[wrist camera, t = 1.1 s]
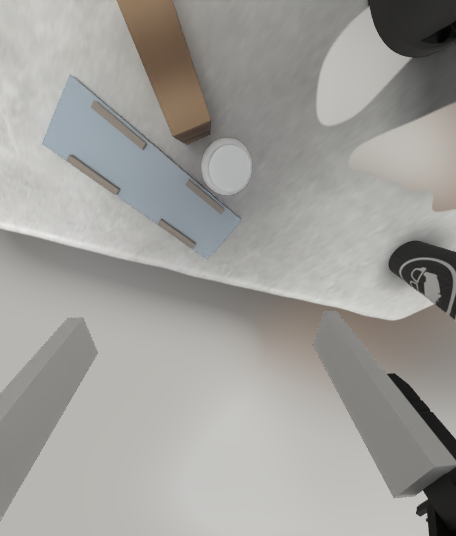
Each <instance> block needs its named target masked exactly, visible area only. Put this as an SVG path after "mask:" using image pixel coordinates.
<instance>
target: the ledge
mask: <svg viewBox="0 0 456 536" xmlns="http://www.w3.org/2000/svg"><path fill="white" fill-rule="evenodd" d="M42 144H43V145H45V146H46V147H47V148H49V149H50V150H52V151H53V152H55V153H56V154H58V155H59V156H60V157H62V158H63V159H65V160H66V161H67V162H69V163H70V164H72V165H73V166H75V167H76V168H77V169H79V170H80V171H82V172H83V173H85V174H86V175H87V176H89V177H90V178H92V179H93V180H95V181H96V182H98V183H99V184H100V185H102V186H103V187H105V188H106V189H108V190H109V191H110V192H112V193H113V194H115V195H116V196H118V197H119V198H121V199H122V200H123V201H125V202H126V203H128V204H129V205H131V206H132V207H133V208H135V209H136V210H138V211H139V212H141V213H142V214H143V215H145V216H146V217H148V218H149V219H151V220H152V221H154V222H155V223H156V224H158V225H159V226H161V227H162V228H163V229H165V230H166V231H168V232H169V233H171V234H172V235H173V236H175V237H176V238H178V239H179V240H181V241H182V242H183V243H185V244H186V245H188V246H189V247H191V248H192V249H194V250H195V251H196V252H198V253H199V254H201V255H202V256H204V257H205V258H207V259H208V258H209V257H210V256H211V255H212V254H213V253H214V251H215V250H216V249H217V248H218V247H219V246H220V245H221V243H222V242H223V241H224V240H225V239H226V238H227V236H228V235H229V234H230V233H231V232H232V231H233V230H234V228H235V227H236V226H237V225H238V224H239V223H240V221H241V219H240V218H239V217H238V216H237V215H235V214H234V213H233V212H232V211H231V210H230V209H228V208H227V207H226V206H225V205H224V204H223V203H221V202H220V201H219V200H218V199H217V198H216V197H214V196H213V195H212V194H211V193H210V192H209V191H207V190H206V189H205V188H204V187H203V186H201V185H200V184H199V183H198V182H197V181H196V180H194V179H193V178H192V177H191V176H190V175H189V174H187V173H186V172H185V171H184V170H183V169H182V168H180V167H179V166H178V165H177V164H176V163H175V162H173V161H172V160H171V159H170V158H169V157H168V156H166V155H165V154H164V153H163V152H162V151H160V150H159V149H158V148H157V147H156V146H155V145H153V144H152V143H151V142H150V141H149V140H148V139H146V138H145V137H144V136H143V135H142V134H141V133H139V132H138V131H137V130H136V129H135V128H134V127H132V126H131V125H130V124H129V123H128V122H127V121H125V120H124V119H123V118H122V117H121V116H119V115H118V114H117V113H116V112H115V111H114V110H112V109H111V108H110V107H109V106H108V105H107V104H105V103H104V102H103V101H102V100H101V99H100V98H98V97H97V96H96V95H95V94H94V93H93V92H91V91H90V90H89V89H88V88H87V87H85V86H84V85H83V84H82V83H81V82H80V81H78V80H77V79H76V78H75V77H73V76H71V75H69V78H68V80H67V83H66V85H65V88H64V90H63V93H62V95H61V98H60V100H59V103H58V105H57V108H56V110H55V113H54V115H53V118H52V120H51V123H50V125H49V128H48V130H47V133H46V135H45V138H44V140H43V143H42Z"/></svg>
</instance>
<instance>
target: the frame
mask: <svg viewBox="0 0 456 536" xmlns="http://www.w3.org/2000/svg"><path fill="white" fill-rule="evenodd" d="M117 2H118V5H119V7H120V10H121V12H122V14H123V17H124V19H125V22H126V24H127V27H128V29H129V31H130V34H131V36H132V39H133V41H134V44H135V46H136V48H137V51H138V53H139V56H140V58H141V61H142V63H143V65H144V68H145V70H146V73H147V75H148V77H149V80H150V82H151V85H152V87H153V90H154V92H155V94H156V97H157V99H158V102H159V104H160V107H161V109H162V111H163V114H164V116H165V119H166V121H167V124H168V126H169V128H170V131H171V133H172V136H173V137H175V138H176V139H178V140H180V141H181V142H183V143H185V144H189V143H191V142H193V141H196V140H198V139H200V138H203V137H205V136H208V135H210V126H211V119H210V116H209V113H208V110H207V106H206V103H205V100H204V97H203V94H202V91H201V88H200V85H199V82H198V79H197V75H196V72H195V69H194V66H193V63H192V60H191V57H190V54H189V51H188V47H187V44H186V41H185V38H184V35H183V32H182V29H181V26H180V23H179V20H178V16H177V13H176V10H175V7H174V4H173V1H172V0H117Z"/></svg>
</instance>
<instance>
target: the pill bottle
mask: <svg viewBox="0 0 456 536" xmlns="http://www.w3.org/2000/svg"><path fill="white" fill-rule="evenodd" d="M252 169H253V165H252V158H251V155H250V153H249V151H248V149H247V148H246V147H245V145H244V144H243V143H241V142H240V141H238V140H236V139H233V138H220V139H217V140H215V141H214V142H212V143H211V144H210V145H209V146H208V147H207V148H206V150H205V152H204V154H203V157H202V161H201V172H202V176H203V179H204V181H205V183H206V184H207V186H208V187H209V188H210V189H211V190H212V191H214V192H216V193H218V194H221V195H232V194H236V193H238V192H240V191H241V190H242V189H244V188H245V186H246V185H247V184H248V182H249V180H250V178H251V175H252Z"/></svg>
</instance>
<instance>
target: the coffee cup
mask: <svg viewBox="0 0 456 536" xmlns="http://www.w3.org/2000/svg"><path fill="white" fill-rule="evenodd" d="M389 268H390V270H391V271H392V272H393V273H395V274H396V275H397V276H399V277H400V278H401V279H403V280H404V281H405V282H407V283H408V284H409V285H410V286H412V287H413V288H414V289H416V290H417V291H418V292H420V293H421V294H422V295H424V296H425V297H426V298H428V299H429V300H430V301H431V302H433V303H434V304H435V305H437V306H438V307H439V308H441V309H442V310H443V311H445V312H446V313H447V314H448V315H450V316H451V317H452V318H454V319H455V320H456V252H454V251H450V250H447V249H444V248H440V247H437V246H433V245H430V244H427V243H423V242H420V241H411V242H408V243H405V244H403V245H402V246H400V247H399V248H398V249H397V250H396V251H395V252H394V253H393V254H392V256H391V258H390V261H389Z"/></svg>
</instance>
